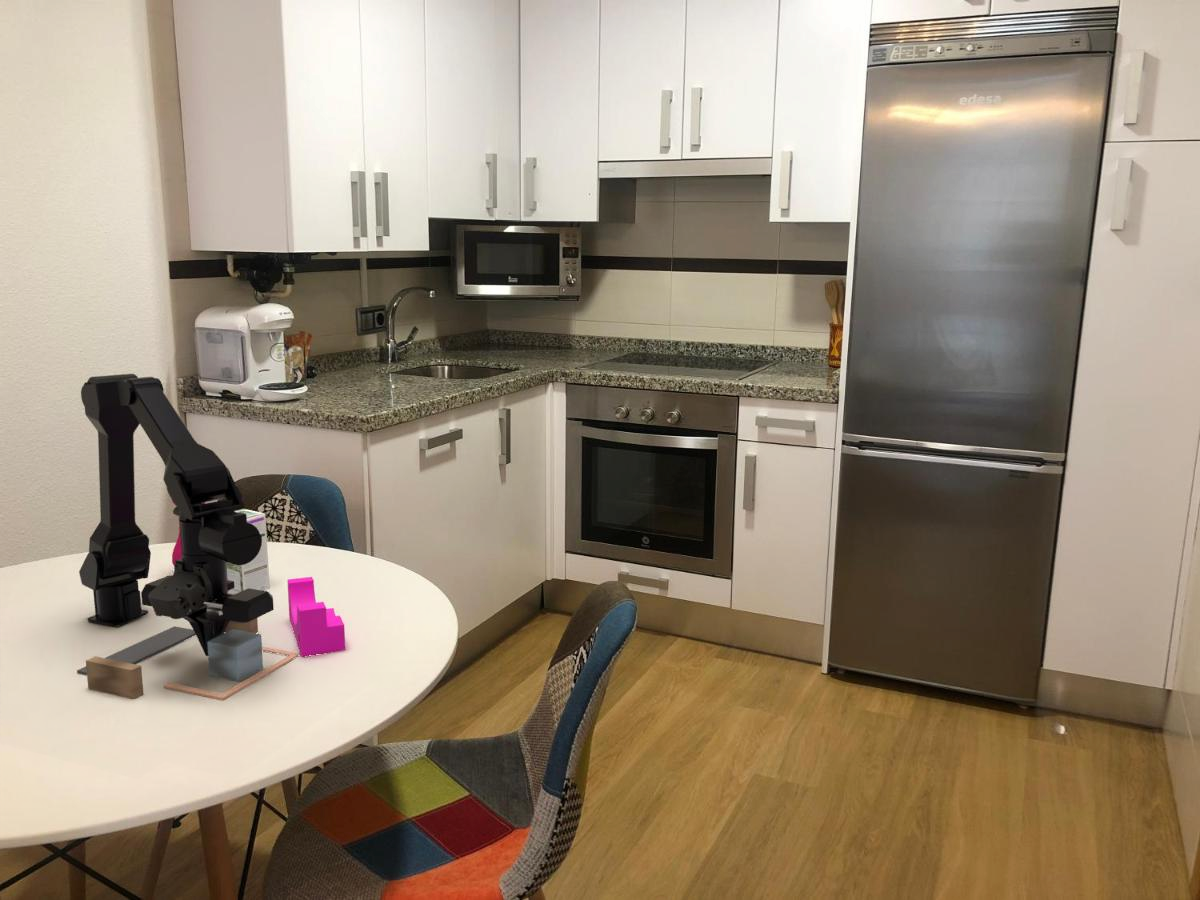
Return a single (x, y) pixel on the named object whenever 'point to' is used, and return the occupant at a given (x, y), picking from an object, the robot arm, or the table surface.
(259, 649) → the cube
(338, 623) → the toy block
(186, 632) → the grey flat board
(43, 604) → the table surface
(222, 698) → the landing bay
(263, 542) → the syrup box
